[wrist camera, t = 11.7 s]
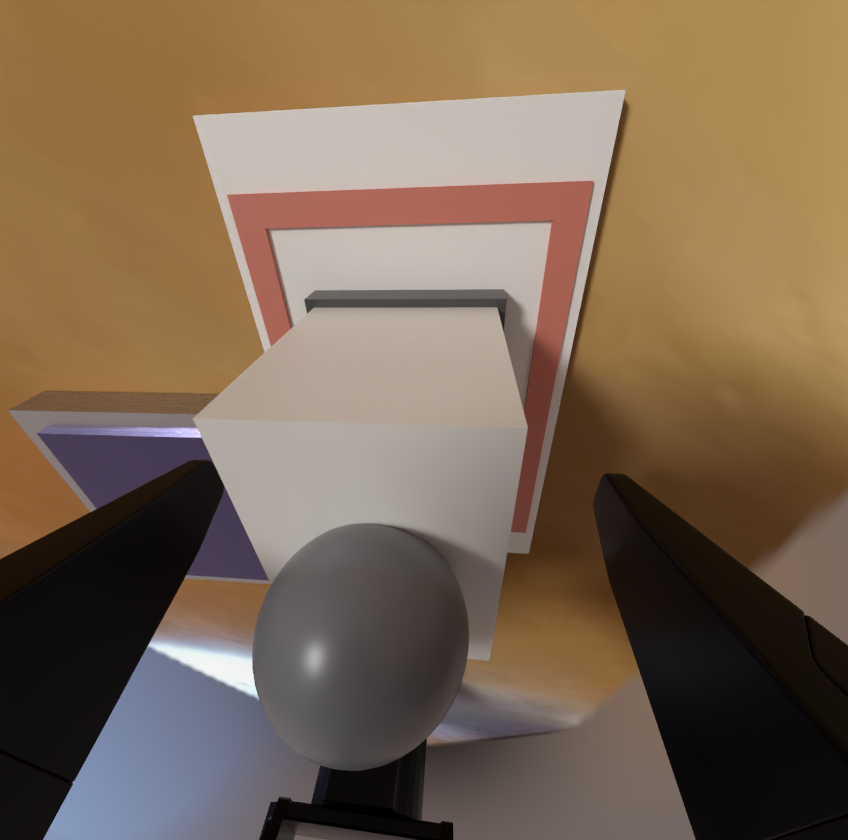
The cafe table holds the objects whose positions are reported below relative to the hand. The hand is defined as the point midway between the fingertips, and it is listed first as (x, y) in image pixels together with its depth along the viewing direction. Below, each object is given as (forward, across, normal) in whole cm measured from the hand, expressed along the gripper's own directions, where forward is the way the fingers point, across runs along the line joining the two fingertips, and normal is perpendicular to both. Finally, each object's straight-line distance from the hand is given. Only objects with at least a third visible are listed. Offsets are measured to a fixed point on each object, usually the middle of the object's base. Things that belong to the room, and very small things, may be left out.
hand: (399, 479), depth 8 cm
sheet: (+4, 0, 0) cm, 4 cm away
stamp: (+3, 0, 0) cm, 3 cm away
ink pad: (+4, +9, +4) cm, 11 cm away
